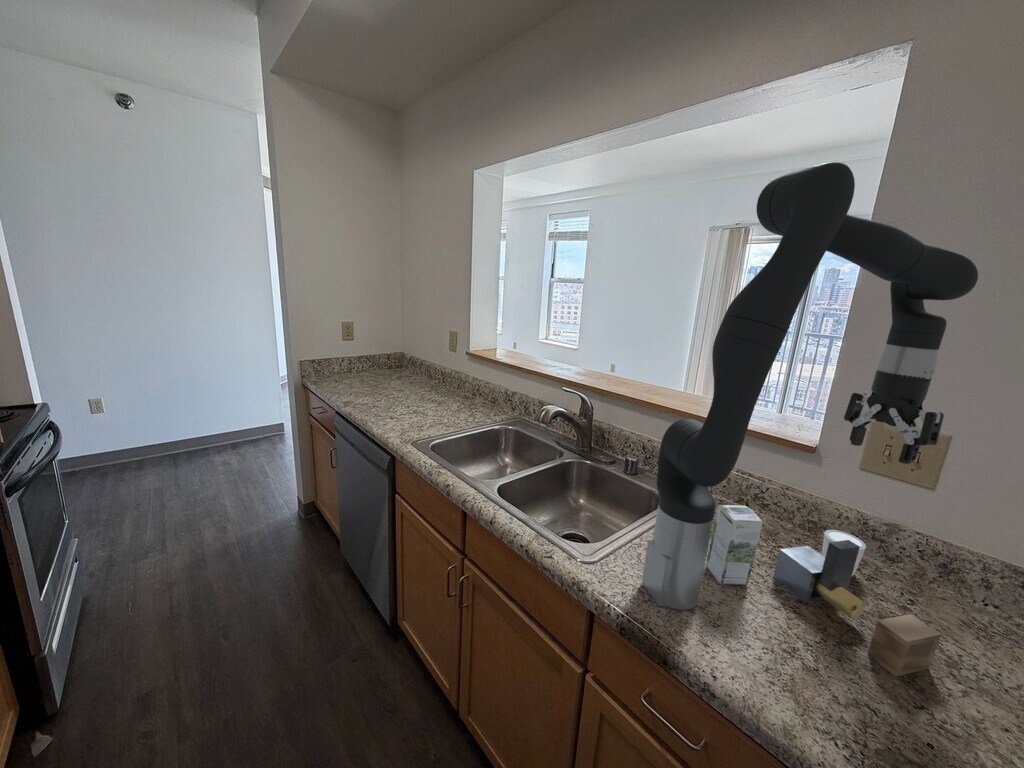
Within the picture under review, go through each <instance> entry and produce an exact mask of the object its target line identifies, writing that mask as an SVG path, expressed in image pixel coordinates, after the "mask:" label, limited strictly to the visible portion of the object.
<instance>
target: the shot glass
mask: <svg viewBox="0 0 1024 768" xmlns="http://www.w3.org/2000/svg"><path fill="white" fill-rule="evenodd" d="M843 540H850V541H851V542H853V543H855V544H856V545H858V546H860V548H859V552H858V555H857V559H856V562H855V566H854V569H853V573H852V576H851V578H852V577H853V576H855V573H856V571H857V568H858V567H859V564H860V562H861V559H862V558H863V556H864V553H865V551H866V548H867V545H866V543H865V542H864V541H863V540H862V539H860V538H858V537H856V536H855V535H852V534H851V533H848V532H845V531H842V530H836V529H827V530H826V531H824V534H823V542H822V549H821V555H823V556H824V557H826V553H827V549H828V546H829V542H835V541H843Z"/></svg>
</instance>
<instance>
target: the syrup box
mask: <svg viewBox="0 0 1024 768" xmlns="http://www.w3.org/2000/svg"><path fill="white" fill-rule="evenodd" d="M763 523H764V522H763V520H762V519H761V518H760V517H759V516H758V515H757V514H756V513H755V511H753V510H752V509H750V508H749V507H748V506H746V505H735V504H733V505H732V504H731V505H730V504H728V505H727V504H718V505H717V508H716V514H715V520H714V525H713V529H712V533H711V534H712V535H711V538H710V543H709V547H708V552H707V557H706V562H705V566H706V567H707V569H708V570H709V571H710V573H711V574H712V576H713V577H714V578H715V579H716V581H717V582H718V584H719V585H724V586H725V585H732V586H733V585H734V586H735V585H736V586H748V585H749V583H750V577H751V573H752V569H753V564H754V561H755V560H754V559H755V556H756V552H757V548H758V545H759V540H760V536H761V532H762V527H763Z"/></svg>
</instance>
